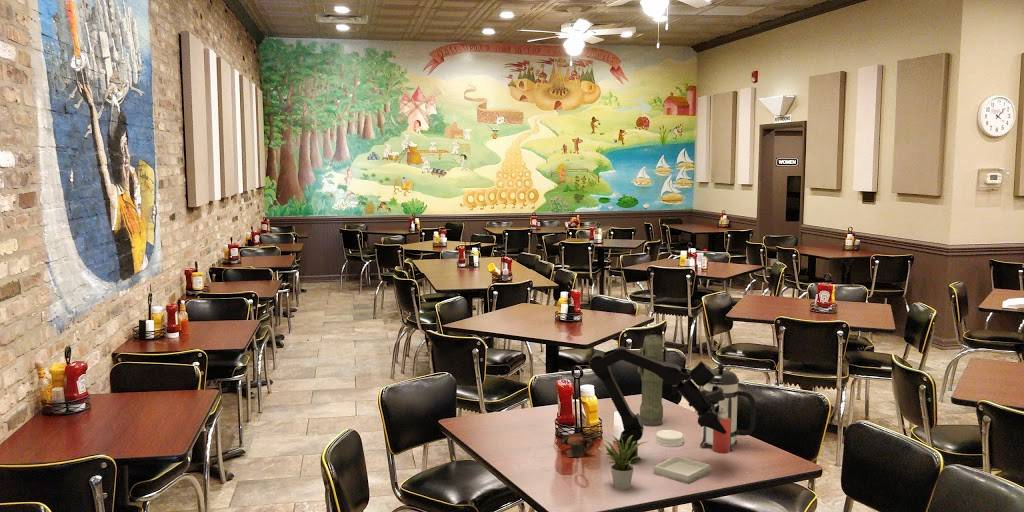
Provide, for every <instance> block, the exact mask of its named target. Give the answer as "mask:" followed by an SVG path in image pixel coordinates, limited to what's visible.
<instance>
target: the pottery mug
mask: <svg viewBox="0 0 1024 512" xmlns="http://www.w3.org/2000/svg"><path fill="white" fill-rule="evenodd" d="M561 445H566V446H570V449H569V450H566V452H565V453H566V457H567V458H573V457H574V458H584V455H587V453H588V452H589V451H591V450H592V449H593V446H594V445H595V444H594V441H593V440H592V438H584V435H583V434H581V433H570V434H565V435H563V436H562V440H561V441H560V446H561Z"/></svg>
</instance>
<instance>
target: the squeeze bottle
mask: <svg viewBox="0 0 1024 512" xmlns="http://www.w3.org/2000/svg"><path fill="white" fill-rule="evenodd" d="M718 420H719V421H720V423H721V424H722V426H723V427H724V429H725V430H726V433H725V434H723V433H720V432H718V431H716V430H714V429H713V445H712V450H711V451H712V452H713V453H716V454H720V455H721V454H723V455H725V454H729V453H730V452H731V451H730V429H731V419H730V418H728V413H727V412H724V408H721V411H719V412H718Z"/></svg>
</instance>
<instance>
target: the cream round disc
mask: <svg viewBox="0 0 1024 512" xmlns="http://www.w3.org/2000/svg"><path fill="white" fill-rule="evenodd" d="M684 440H685V439H684V434H683V433H682V432H681V431H679V430H673V429H672V430H671V429H663V430H658V431H657V432H656V433H655V442H656V444H658V445H659V446H662V447H668V448H671V447H680V445H681V446H682V445H684Z"/></svg>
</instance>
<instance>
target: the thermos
mask: <svg viewBox="0 0 1024 512" xmlns="http://www.w3.org/2000/svg"><path fill="white" fill-rule="evenodd" d="M637 353H639V354H642V355H644V356H647V357H649V358H652V359H654V360H657V361H661V362H668V349H667V348H666V346H664V345H663V339H662V336H660V335H659V334H647V335H645V336H644V340H643V343H642V347H640V348H639V349H638V351H637ZM637 373H638V374H639V375H640V380H641V404H640V406H639V415H640V418H641V420H642V421H643V422H644V425H643V426H645V427H652V428H653V427H660V426H662V425H663V418H664V407H663V382H664V380H663V379H661V378H660V377H659V376H658V375H656V374H655V373H653V372H651V371H648V370H646V369H643V368H641V367H638V366H637Z"/></svg>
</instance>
